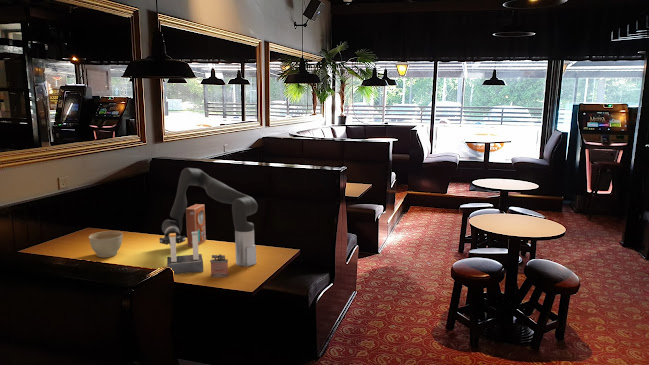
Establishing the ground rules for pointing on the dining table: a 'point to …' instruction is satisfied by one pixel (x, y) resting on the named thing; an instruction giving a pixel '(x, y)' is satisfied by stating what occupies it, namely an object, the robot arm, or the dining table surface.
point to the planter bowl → (106, 243)
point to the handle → (195, 245)
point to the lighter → (219, 266)
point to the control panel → (195, 223)
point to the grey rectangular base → (186, 264)
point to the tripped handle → (173, 247)
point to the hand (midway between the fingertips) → (172, 244)
